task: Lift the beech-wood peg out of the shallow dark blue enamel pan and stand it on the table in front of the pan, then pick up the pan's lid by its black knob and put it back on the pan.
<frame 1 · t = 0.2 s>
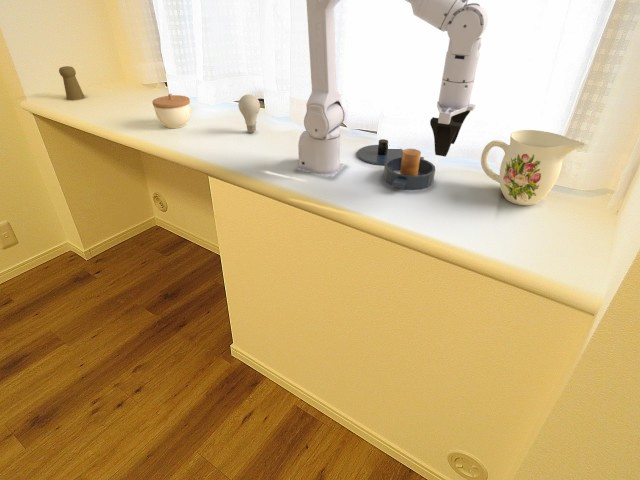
hand: (445, 148, 83), 10 cm above the table, tool pointing down, fingers open, 7 cm apart
lid: (382, 155, 105), point 1 cm above the table
pot: (407, 181, 94), on the table
trinket box: (176, 125, 126), on the table
lightbulb: (251, 133, 121), on the table
peg: (408, 179, 93), resting on pot
pitcher: (515, 197, 87), on the table
grey-brown tapered knobbed cylinder: (76, 98, 152), on the table
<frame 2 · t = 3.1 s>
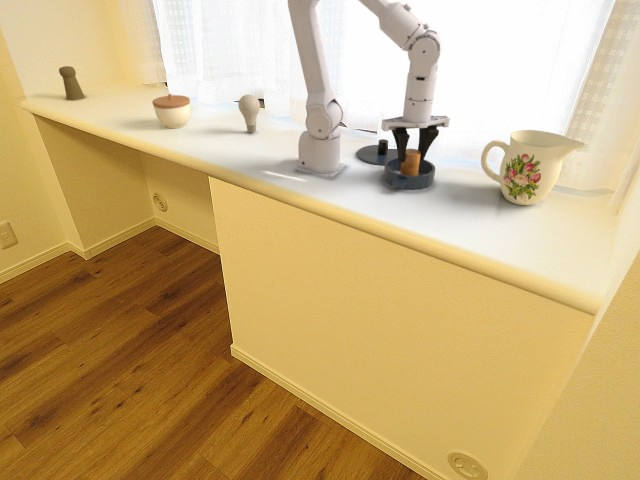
hand: (410, 159, 91), 5 cm above the table, tool pointing down, fingers closed on peg, 4 cm apart
peg: (408, 179, 93), point 1 cm above the table, touching gripper, pot
everything else where it was.
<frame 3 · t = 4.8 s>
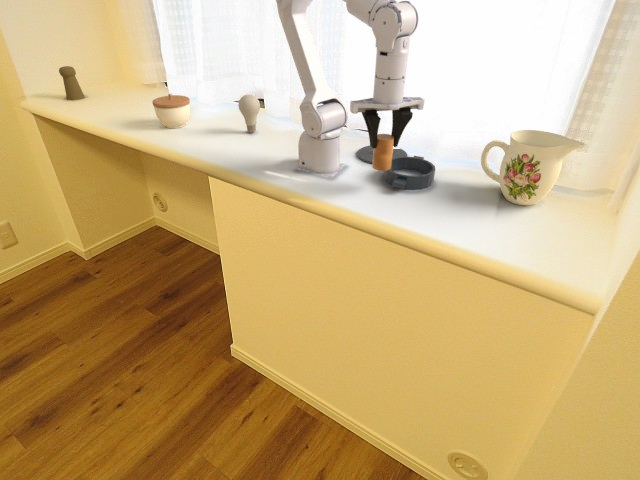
hand: (383, 145, 84), 10 cm above the table, tool pointing down, fingers closed on peg, 4 cm apart
peg: (381, 166, 86), point 6 cm above the table, touching gripper
everything else where it was.
when the fingers open (5 cm above the table, at t = 6.9 s): peg stays where it is, on the table.
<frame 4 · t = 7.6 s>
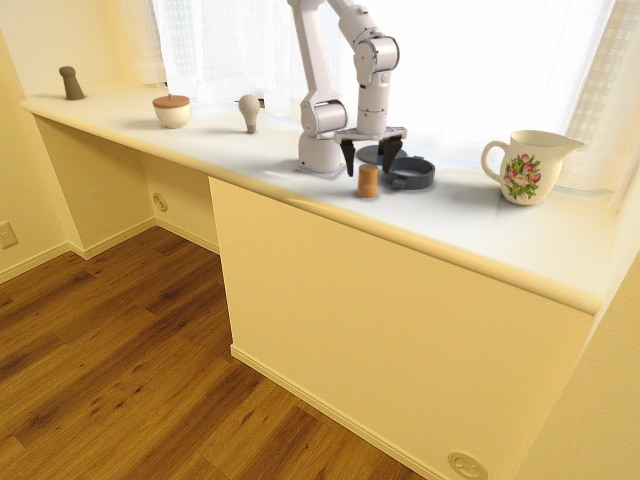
hand: (367, 173, 85), 5 cm above the table, tool pointing down, fingers open, 7 cm apart
peg: (366, 195, 88), on the table
everything else where it was.
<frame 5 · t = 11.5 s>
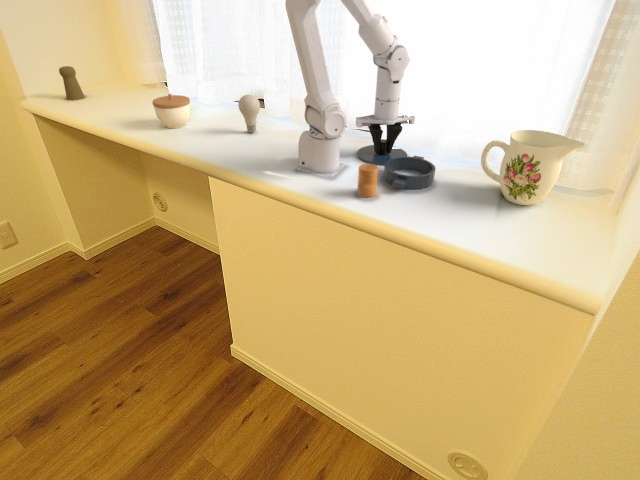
hand: (382, 152, 104), 1 cm above the table, tool pointing down, fingers closed on lid, 2 cm apart
lid: (382, 155, 105), point 1 cm above the table, touching gripper
everything else where it was.
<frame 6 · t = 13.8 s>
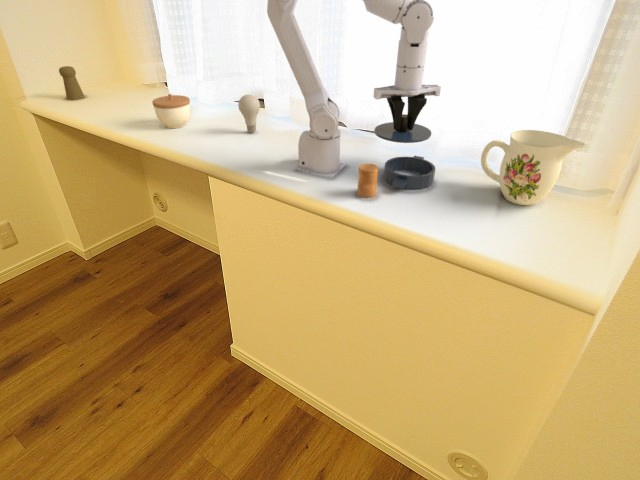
hand: (402, 129, 92), 10 cm above the table, tool pointing down, fingers closed on lid, 2 cm apart
lid: (402, 132, 93), point 10 cm above the table, touching gripper
everything else where it was.
when the fingers open (4 cm above the table, at t = 16.3 s): lid stays where it is, resting on pot.
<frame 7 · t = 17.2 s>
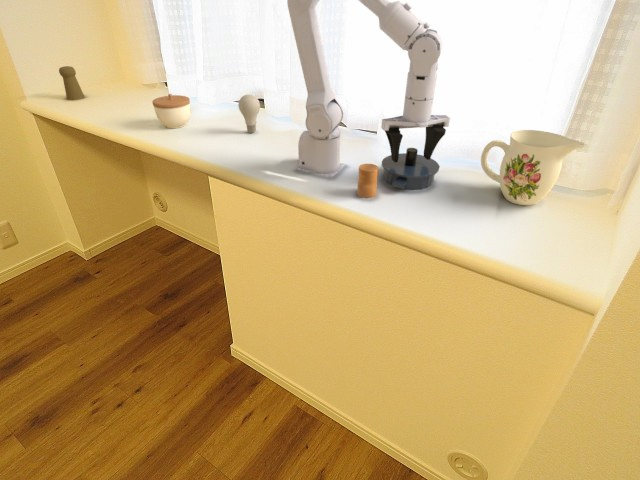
hand: (410, 159, 91), 5 cm above the table, tool pointing down, fingers open, 7 cm apart
lid: (409, 166, 92), point 4 cm above the table, touching pot
everything else where it was.
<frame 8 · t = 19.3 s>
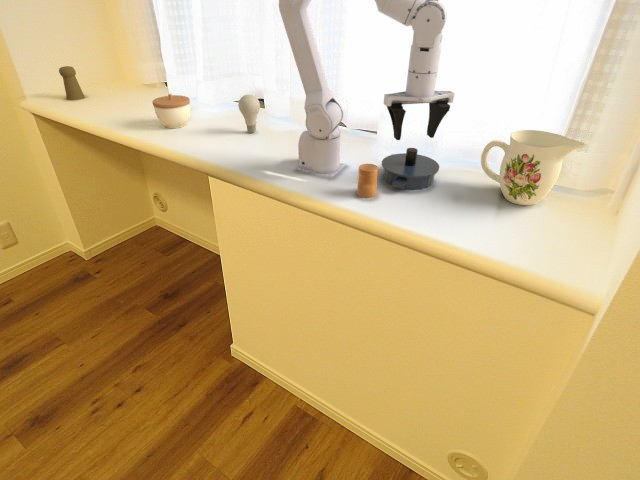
hand: (413, 137, 88), 10 cm above the table, tool pointing down, fingers open, 7 cm apart
nothing on the table moved.
at the end: peg inside the target area (0.1 cm from its centre), on the table; peg tilted 0°; lid 0.0 cm off-centre on the pot, point 3.7 cm above the pot's base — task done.
